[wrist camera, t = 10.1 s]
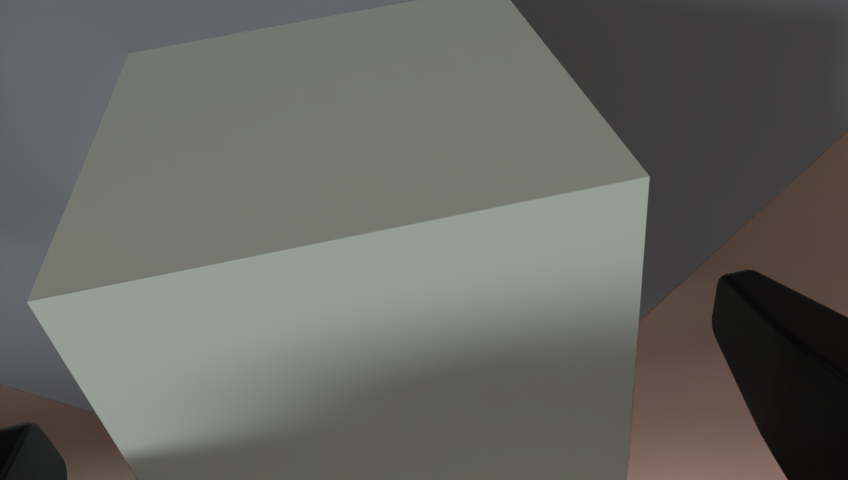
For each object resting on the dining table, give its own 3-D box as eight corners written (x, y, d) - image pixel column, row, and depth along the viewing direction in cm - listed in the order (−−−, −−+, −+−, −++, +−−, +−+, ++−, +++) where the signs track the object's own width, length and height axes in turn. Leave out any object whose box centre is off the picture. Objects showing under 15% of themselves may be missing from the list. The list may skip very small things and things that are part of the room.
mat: (424, 495, 21) (427, 513, 20) (-259, 278, 13) (-279, 299, 13) (904, 47, 15) (926, 58, 14) (123, -837, 7) (113, -876, 7)
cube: (236, 324, 15) (218, 609, 10) (128, 53, 11) (26, 302, 7) (516, 266, 15) (623, 517, 11) (498, -16, 12) (649, 176, 7)
